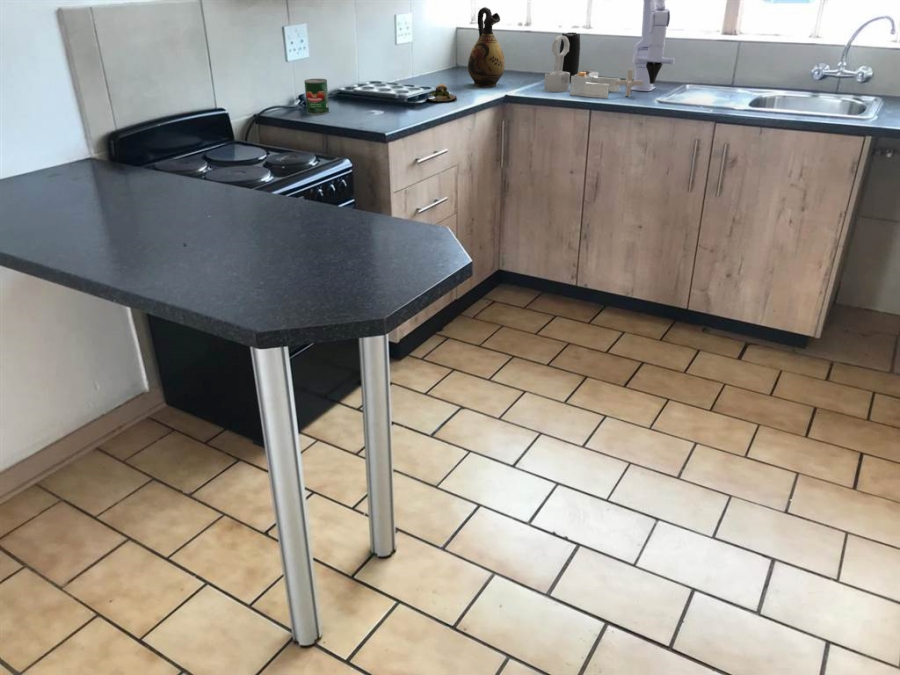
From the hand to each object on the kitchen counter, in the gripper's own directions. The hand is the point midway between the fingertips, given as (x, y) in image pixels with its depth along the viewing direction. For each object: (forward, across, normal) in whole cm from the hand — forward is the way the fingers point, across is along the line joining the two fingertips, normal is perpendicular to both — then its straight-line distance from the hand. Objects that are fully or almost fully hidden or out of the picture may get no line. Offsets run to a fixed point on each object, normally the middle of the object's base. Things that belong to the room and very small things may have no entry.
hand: (652, 83), depth 284 cm
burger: (+6, -70, -40) cm, 81 cm away
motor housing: (+5, -22, 0) cm, 23 cm away
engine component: (+6, -39, +2) cm, 39 cm away
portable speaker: (+6, -43, +25) cm, 50 cm away
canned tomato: (+6, -98, -80) cm, 127 cm away
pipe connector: (+6, -9, 0) cm, 11 cm away
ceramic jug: (+6, -70, -2) cm, 70 cm away
